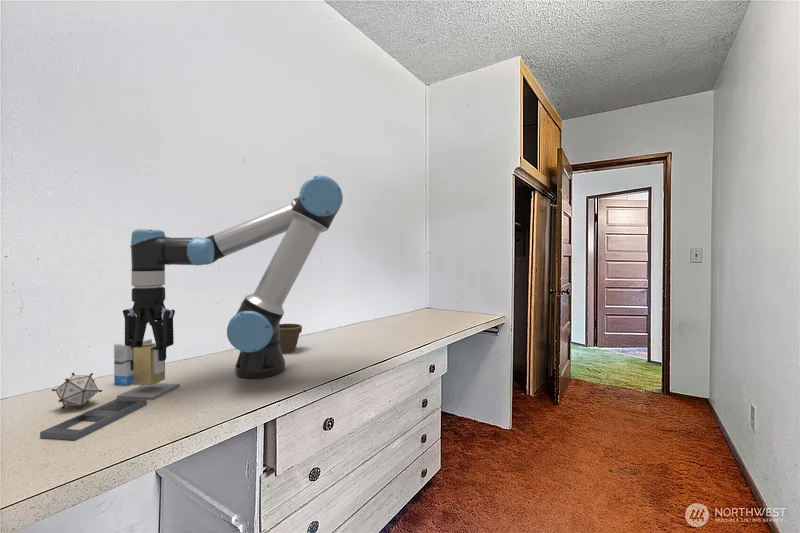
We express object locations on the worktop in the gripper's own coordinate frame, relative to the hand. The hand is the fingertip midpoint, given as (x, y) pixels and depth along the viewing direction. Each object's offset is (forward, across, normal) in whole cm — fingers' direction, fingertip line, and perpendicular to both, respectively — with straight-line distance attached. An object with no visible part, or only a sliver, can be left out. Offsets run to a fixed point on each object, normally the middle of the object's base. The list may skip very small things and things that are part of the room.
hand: (149, 371), depth 100 cm
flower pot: (+6, -19, -46) cm, 50 cm away
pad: (+5, 0, 0) cm, 5 cm away
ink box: (+6, +12, -8) cm, 15 cm away
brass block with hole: (+3, 0, 0) cm, 3 cm away
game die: (+6, +10, +11) cm, 16 cm away
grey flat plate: (+5, -2, +17) cm, 18 cm away
